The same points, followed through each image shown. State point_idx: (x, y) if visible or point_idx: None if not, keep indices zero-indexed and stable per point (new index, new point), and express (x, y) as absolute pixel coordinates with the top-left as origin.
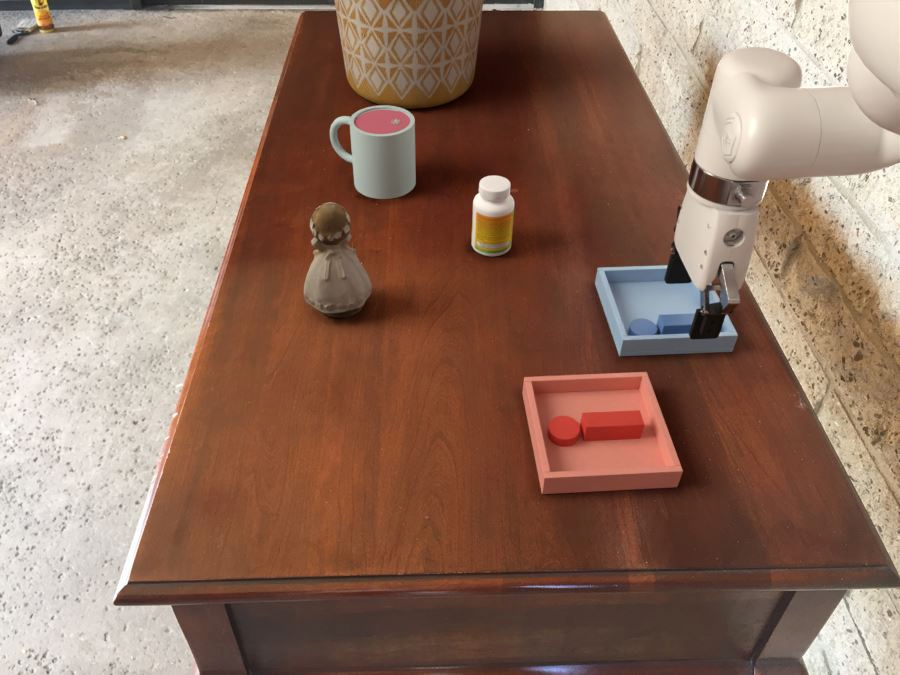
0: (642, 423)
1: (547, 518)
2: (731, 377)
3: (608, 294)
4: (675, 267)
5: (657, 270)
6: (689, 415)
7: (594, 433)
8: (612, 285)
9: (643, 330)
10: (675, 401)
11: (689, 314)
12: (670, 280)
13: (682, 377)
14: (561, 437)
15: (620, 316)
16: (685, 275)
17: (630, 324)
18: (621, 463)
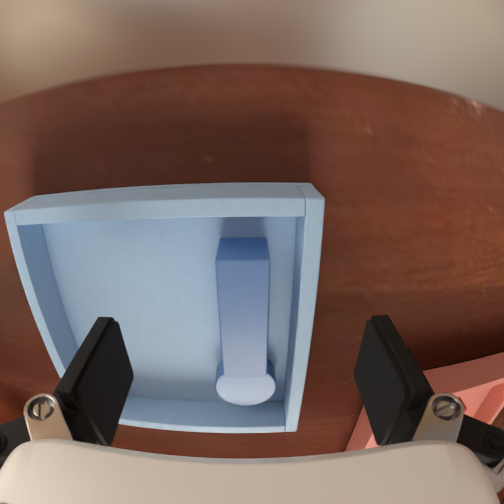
0: (464, 411)
1: None
2: (391, 217)
3: (158, 428)
4: (114, 411)
5: (48, 321)
6: (445, 321)
7: None
8: None
9: (257, 390)
10: (414, 337)
11: (224, 315)
12: (128, 377)
13: (368, 316)
14: None
15: (189, 391)
16: (113, 359)
17: (236, 404)
18: (469, 403)
